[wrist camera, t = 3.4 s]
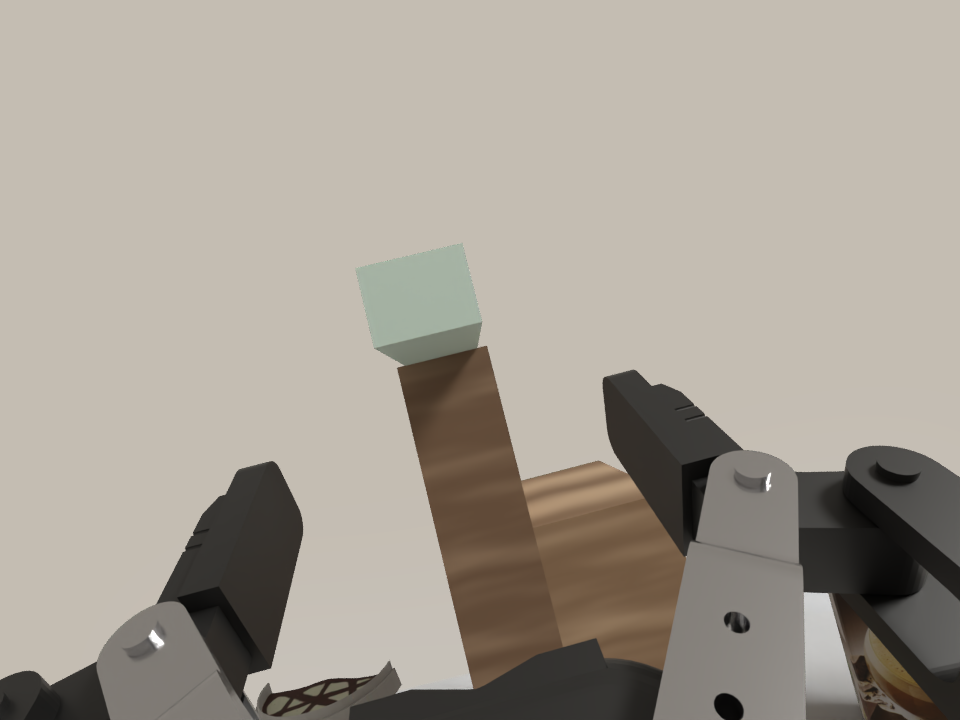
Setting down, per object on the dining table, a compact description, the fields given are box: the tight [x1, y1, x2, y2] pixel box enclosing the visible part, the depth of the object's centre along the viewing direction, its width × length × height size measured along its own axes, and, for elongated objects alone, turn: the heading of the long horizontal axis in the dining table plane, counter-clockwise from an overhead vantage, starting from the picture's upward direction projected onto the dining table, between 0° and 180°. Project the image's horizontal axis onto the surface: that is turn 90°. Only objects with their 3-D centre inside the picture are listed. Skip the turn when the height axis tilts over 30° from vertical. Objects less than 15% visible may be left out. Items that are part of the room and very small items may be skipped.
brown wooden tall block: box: [397, 346, 686, 689], centre depth 33 cm, size 14×12×32 cm
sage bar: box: [356, 243, 482, 366], centre depth 30 cm, size 24×4×3 cm, turn 1°
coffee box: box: [828, 593, 948, 720], centre depth 33 cm, size 9×6×16 cm
